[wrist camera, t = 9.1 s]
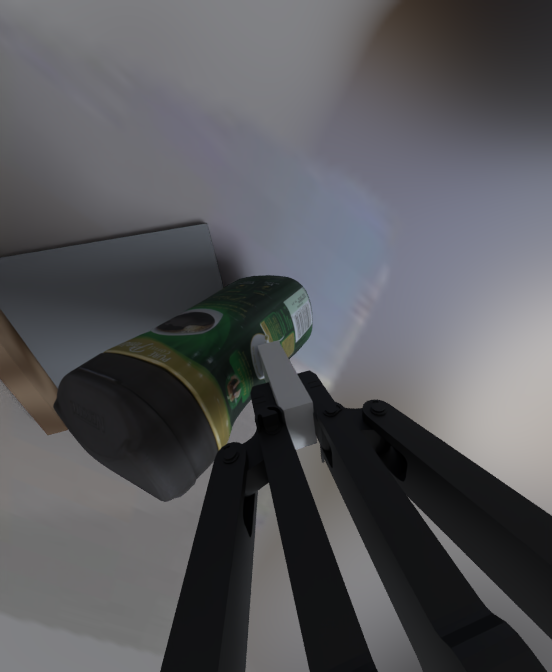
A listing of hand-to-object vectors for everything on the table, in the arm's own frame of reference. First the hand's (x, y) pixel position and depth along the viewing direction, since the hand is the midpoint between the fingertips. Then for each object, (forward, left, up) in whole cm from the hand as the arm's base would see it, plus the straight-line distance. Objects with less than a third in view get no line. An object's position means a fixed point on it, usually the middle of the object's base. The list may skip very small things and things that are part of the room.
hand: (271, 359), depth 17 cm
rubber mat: (0, -12, -13) cm, 18 cm away
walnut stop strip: (0, -24, -13) cm, 27 cm away
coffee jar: (0, +3, -10) cm, 10 cm away
